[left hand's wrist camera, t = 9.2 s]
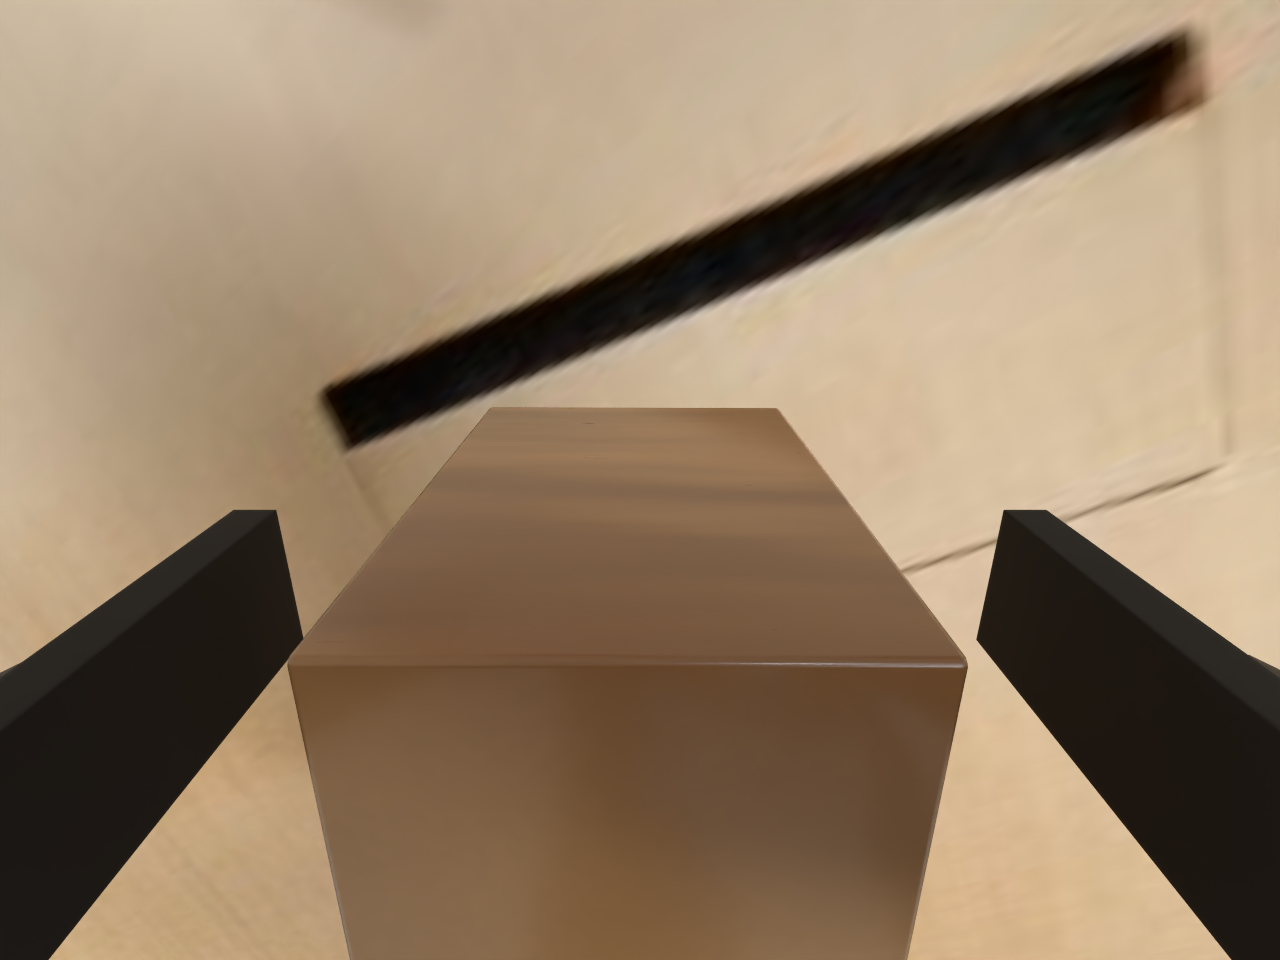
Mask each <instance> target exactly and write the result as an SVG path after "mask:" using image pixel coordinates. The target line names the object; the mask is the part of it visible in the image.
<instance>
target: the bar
mask: <svg viewBox="0 0 1280 960" xmlns="http://www.w3.org/2000/svg"><path fill="white" fill-rule="evenodd" d="M967 669H968V665H967V660H966V657H965V656H964V655H963V653H962V652H961V651H960V649H959V648H958V647H957V645H956V644H955V643H954V641H953V640H952V639H951V637H950V636H949V635H948V633H947V632H946V631H945V629H944V628H943V627H942V625H941V624H940V623H939V621H938V620H937V619H936V617H935V616H934V615H933V613H932V612H931V611H930V609H929V608H928V607H927V605H926V604H925V603H924V601H923V600H922V599H921V597H920V596H919V595H918V593H917V592H916V591H915V589H914V588H913V587H912V586H911V584H910V583H909V582H908V580H907V579H906V578H905V576H904V575H903V574H902V572H901V571H900V570H899V568H898V567H897V566H896V564H895V563H894V562H893V560H892V559H891V558H890V556H889V555H888V554H887V552H886V551H885V550H884V548H883V547H882V546H881V544H880V543H879V542H878V540H877V539H876V538H875V536H874V535H873V534H872V532H871V531H870V530H869V528H868V527H867V526H866V524H865V523H864V522H863V520H862V519H861V518H860V516H859V515H858V514H857V513H856V511H855V510H854V509H853V507H852V506H851V505H850V503H849V502H848V501H847V499H846V498H845V497H844V495H843V494H842V493H841V491H840V490H839V489H838V487H837V486H836V485H835V483H834V482H833V481H832V479H831V478H830V477H829V475H828V474H827V473H826V471H825V470H824V469H823V467H822V466H821V465H820V463H819V462H818V461H817V459H816V458H815V457H814V455H813V454H812V453H811V451H810V450H809V449H808V447H807V446H806V445H805V443H804V442H803V441H802V440H801V438H800V437H799V436H798V434H797V433H796V432H795V430H794V429H793V428H792V426H791V425H790V424H789V422H788V421H787V420H786V418H785V417H784V416H783V414H782V413H781V412H780V410H779V409H776V408H512V407H493V408H490V409H489V411H488V412H487V413H486V414H485V415H484V417H483V418H482V419H481V420H480V422H479V423H478V424H477V425H476V427H475V428H474V429H473V430H472V431H471V433H470V434H469V435H468V436H467V438H466V439H465V440H464V441H463V443H462V444H461V445H460V446H459V448H458V449H457V450H456V451H455V452H454V454H453V455H452V456H451V457H450V459H449V460H448V461H447V462H446V464H445V465H444V466H443V467H442V468H441V470H440V471H439V472H438V473H437V475H436V476H435V477H434V478H433V480H432V481H431V482H430V483H429V484H428V486H427V487H426V488H425V489H424V491H423V492H422V493H421V494H420V496H419V497H418V498H417V499H416V501H415V502H414V503H413V504H412V505H411V507H410V508H409V509H408V510H407V512H406V513H405V514H404V515H403V517H402V518H401V519H400V520H399V521H398V523H397V524H396V525H395V526H394V528H393V529H392V530H391V531H390V533H389V534H388V535H387V536H386V538H385V539H384V540H383V541H382V542H381V544H380V545H379V546H378V547H377V549H376V550H375V551H374V552H373V554H372V555H371V556H370V557H369V558H368V560H367V561H366V562H365V563H364V565H363V566H362V567H361V568H360V570H359V571H358V572H357V573H356V574H355V576H354V577H353V578H352V579H351V581H350V582H349V583H348V584H347V586H346V587H345V588H344V589H343V591H342V592H341V593H340V594H339V595H338V597H337V598H336V599H335V600H334V602H333V603H332V604H331V605H330V607H329V608H328V609H327V610H326V611H325V613H324V614H323V615H322V616H321V618H320V619H319V620H318V621H317V623H316V624H315V625H314V626H313V628H312V629H311V630H310V631H309V632H308V634H307V635H306V636H305V637H304V639H303V640H302V641H301V642H300V644H299V645H298V646H297V647H296V648H295V650H294V651H293V652H292V653H291V655H290V656H289V660H288V671H289V675H290V680H291V685H292V689H293V694H294V699H295V704H296V708H297V713H298V718H299V722H300V727H301V732H302V736H303V741H304V746H305V750H306V755H307V760H308V764H309V769H310V774H311V778H312V783H313V788H314V792H315V797H316V802H317V806H318V811H319V816H320V820H321V825H322V830H323V834H324V839H325V844H326V848H327V853H328V858H329V862H330V867H331V872H332V876H333V881H334V886H335V890H336V895H337V900H338V904H339V909H340V914H341V918H342V923H343V928H344V933H345V937H346V942H347V947H348V951H349V956H350V960H907V958H908V953H909V948H910V943H911V938H912V934H913V929H914V924H915V919H916V914H917V910H918V905H919V900H920V895H921V890H922V885H923V881H924V876H925V871H926V866H927V861H928V857H929V852H930V847H931V842H932V837H933V833H934V828H935V823H936V818H937V813H938V808H939V804H940V799H941V794H942V789H943V784H944V780H945V775H946V770H947V765H948V760H949V755H950V751H951V746H952V741H953V736H954V731H955V727H956V722H957V717H958V712H959V707H960V702H961V698H962V693H963V688H964V683H965V678H966V674H967Z"/></svg>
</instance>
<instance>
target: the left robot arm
mask: <svg viewBox="0 0 1280 960" xmlns="http://www.w3.org/2000/svg"><path fill="white" fill-rule="evenodd" d="M302 640H303V635H302V630H301V625H300V620H299V616H298V611H297V606H296V601H295V597H294V592H293V587H292V582H291V578H290V573H289V568H288V563H287V559H286V554H285V549H284V544H283V540H282V535H281V530H280V526H279V521H278V516H277V511H276V510H233V511H232V512H230V513H229V514H227V515H226V516H225V517H223V518H222V519H220V520H219V521H218V522H216V523H215V524H214V525H212V526H211V527H209V528H208V529H207V530H205V531H204V532H202V533H201V534H200V535H198V536H197V537H195V538H194V539H193V540H191V541H190V542H188V543H187V544H186V545H184V546H183V547H182V548H180V549H179V550H177V551H176V552H175V553H173V554H172V555H170V556H169V557H168V558H166V559H165V560H163V561H162V562H161V563H159V564H158V565H157V566H155V567H154V568H152V569H151V570H150V571H148V572H147V573H145V574H144V575H143V576H141V577H140V578H138V579H137V580H136V581H134V582H133V583H131V584H130V585H129V586H127V587H126V588H125V589H123V590H122V591H120V592H119V593H118V594H116V595H115V596H113V597H112V598H111V599H109V600H108V601H106V602H105V603H104V604H102V605H101V606H100V607H98V608H97V609H95V610H94V611H93V612H91V613H90V614H88V615H87V616H86V617H84V618H83V619H81V620H80V621H79V622H77V623H76V624H74V625H73V626H72V627H70V628H69V629H68V630H66V631H65V632H63V633H62V634H61V635H59V636H58V637H56V638H55V639H54V640H52V641H51V642H49V643H48V644H47V645H45V646H44V647H43V648H41V649H40V650H38V651H37V652H36V653H34V654H33V655H31V656H30V657H29V658H27V659H26V660H24V661H23V662H21V663H19V664H17V665H15V666H13V667H11V668H9V669H7V670H5V671H3V672H1V673H0V960H49V958H50V957H51V956H52V955H53V953H54V952H55V951H56V950H57V948H58V947H59V946H60V945H61V943H62V942H63V941H64V940H65V938H66V937H67V936H68V935H69V933H70V932H71V931H72V930H73V928H74V927H75V926H76V925H77V923H78V922H79V921H80V920H81V918H82V917H83V916H84V915H85V913H86V912H87V911H88V909H89V908H90V907H91V906H92V904H93V903H94V902H95V901H96V899H97V898H98V897H99V896H100V894H101V893H102V892H103V891H104V889H105V888H106V887H107V886H108V884H109V883H110V882H111V881H112V879H113V878H114V877H115V876H116V874H117V873H118V872H119V871H120V869H121V868H122V867H123V866H124V864H125V863H126V862H127V861H128V859H129V858H130V857H131V856H132V854H133V853H134V852H135V851H136V849H137V848H138V847H139V846H140V844H141V843H142V842H143V840H144V839H145V838H146V837H147V835H148V834H149V833H150V832H151V830H152V829H153V828H154V827H155V825H156V824H157V823H158V822H159V820H160V819H161V818H162V817H163V815H164V814H165V813H166V812H167V810H168V809H169V808H170V807H171V805H172V804H173V803H174V802H175V800H176V799H177V798H178V797H179V795H180V794H181V793H182V792H183V790H184V789H185V788H186V787H187V785H188V784H189V783H190V782H191V780H192V779H193V778H194V777H195V775H196V774H197V773H198V772H199V770H200V769H201V768H202V766H203V765H204V764H205V763H206V761H207V760H208V759H209V758H210V756H211V755H212V754H213V753H214V751H215V750H216V749H217V748H218V746H219V745H220V744H221V743H222V741H223V740H224V739H225V738H226V736H227V735H228V734H229V733H230V731H231V730H232V729H233V728H234V726H235V725H236V724H237V723H238V721H239V720H240V719H241V718H242V716H243V715H244V714H245V713H246V711H247V710H248V709H249V708H250V706H251V705H252V704H253V703H254V701H255V700H256V699H257V698H258V696H259V695H260V694H261V692H262V691H263V690H264V689H265V687H266V686H267V685H268V684H269V682H270V681H271V680H272V679H273V677H274V676H275V675H276V674H277V672H278V671H279V670H280V669H281V667H282V666H283V665H284V664H285V662H286V661H287V660H288V659H289V656H290V655H291V653H292V652H293V651H294V650H295V648H296V647H297V646H298V645H299V644H300V642H301V641H302ZM976 640H977V641H978V642H979V644H980V645H981V646H982V647H983V649H984V650H985V651H986V652H987V654H988V655H989V656H990V657H991V659H992V660H993V661H994V662H995V664H996V665H997V666H998V667H999V669H1000V670H1001V671H1002V672H1003V674H1004V675H1005V676H1006V677H1007V679H1008V680H1009V681H1010V682H1011V684H1012V685H1013V686H1014V687H1015V689H1016V690H1017V691H1018V692H1019V694H1020V695H1021V696H1022V698H1023V699H1024V700H1025V701H1026V703H1027V704H1028V705H1029V706H1030V708H1031V709H1032V710H1033V711H1034V713H1035V714H1036V715H1037V716H1038V718H1039V719H1040V720H1041V721H1042V723H1043V724H1044V725H1045V726H1046V728H1047V729H1048V730H1049V731H1050V733H1051V734H1052V735H1053V736H1054V738H1055V739H1056V740H1057V741H1058V743H1059V744H1060V745H1061V746H1062V748H1063V749H1064V750H1065V751H1066V753H1067V754H1068V755H1069V756H1070V758H1071V759H1072V760H1073V761H1074V763H1075V764H1076V765H1077V766H1078V768H1079V769H1080V770H1081V772H1082V773H1083V774H1084V775H1085V777H1086V778H1087V779H1088V780H1089V782H1090V783H1091V784H1092V785H1093V787H1094V788H1095V789H1096V790H1097V792H1098V793H1099V794H1100V795H1101V797H1102V798H1103V799H1104V800H1105V802H1106V803H1107V804H1108V805H1109V807H1110V808H1111V809H1112V810H1113V812H1114V813H1115V814H1116V815H1117V817H1118V818H1119V819H1120V820H1121V822H1122V823H1123V824H1124V825H1125V827H1126V828H1127V829H1128V830H1129V832H1130V833H1131V834H1132V835H1133V837H1134V838H1135V839H1136V840H1137V842H1138V843H1139V844H1140V846H1141V847H1142V848H1143V849H1144V851H1145V852H1146V853H1147V854H1148V856H1149V857H1150V858H1151V859H1152V861H1153V862H1154V863H1155V864H1156V866H1157V867H1158V868H1159V869H1160V871H1161V872H1162V873H1163V874H1164V876H1165V877H1166V878H1167V879H1168V881H1169V882H1170V883H1171V884H1172V886H1173V887H1174V888H1175V889H1176V891H1177V892H1178V893H1179V894H1180V896H1181V897H1182V898H1183V899H1184V901H1185V902H1186V903H1187V904H1188V906H1189V907H1190V908H1191V909H1192V911H1193V912H1194V913H1195V915H1196V916H1197V917H1198V918H1199V920H1200V921H1201V922H1202V923H1203V925H1204V926H1205V927H1206V928H1207V930H1208V931H1209V932H1210V933H1211V935H1212V936H1213V937H1214V938H1215V940H1216V941H1217V942H1218V943H1219V945H1220V946H1221V947H1222V948H1223V950H1224V951H1225V952H1226V953H1227V955H1228V956H1229V957H1230V958H1231V960H1280V670H1279V669H1277V668H1275V667H1273V666H1271V665H1269V664H1267V663H1265V662H1263V661H1261V660H1259V659H1257V658H1254V657H1252V656H1250V655H1247V654H1246V653H1244V652H1243V651H1242V650H1240V649H1239V648H1237V647H1236V646H1235V645H1233V644H1232V643H1231V642H1229V641H1228V640H1226V639H1225V638H1224V637H1222V636H1221V635H1219V634H1218V633H1217V632H1215V631H1214V630H1212V629H1211V628H1210V627H1208V626H1207V625H1206V624H1204V623H1203V622H1201V621H1200V620H1199V619H1197V618H1196V617H1194V616H1193V615H1192V614H1190V613H1189V612H1187V611H1186V610H1185V609H1183V608H1182V607H1180V606H1179V605H1178V604H1176V603H1175V602H1174V601H1172V600H1171V599H1169V598H1168V597H1167V596H1165V595H1164V594H1162V593H1161V592H1160V591H1158V590H1157V589H1155V588H1154V587H1153V586H1151V585H1150V584H1149V583H1147V582H1146V581H1144V580H1143V579H1142V578H1140V577H1139V576H1137V575H1136V574H1135V573H1133V572H1132V571H1130V570H1129V569H1128V568H1126V567H1125V566H1123V565H1122V564H1121V563H1119V562H1118V561H1117V560H1115V559H1114V558H1112V557H1111V556H1110V555H1108V554H1107V553H1105V552H1104V551H1103V550H1101V549H1100V548H1098V547H1097V546H1096V545H1094V544H1093V543H1092V542H1090V541H1089V540H1087V539H1086V538H1085V537H1083V536H1082V535H1080V534H1079V533H1078V532H1076V531H1075V530H1073V529H1072V528H1071V527H1069V526H1068V525H1066V524H1065V523H1064V522H1062V521H1061V520H1060V519H1058V518H1057V517H1055V516H1054V515H1053V514H1051V513H1050V512H1048V511H1047V510H1004V511H1003V516H1002V521H1001V526H1000V530H999V535H998V540H997V544H996V549H995V554H994V559H993V563H992V568H991V573H990V578H989V582H988V587H987V592H986V597H985V601H984V606H983V611H982V616H981V620H980V625H979V630H978V635H977V639H976Z"/></svg>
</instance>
